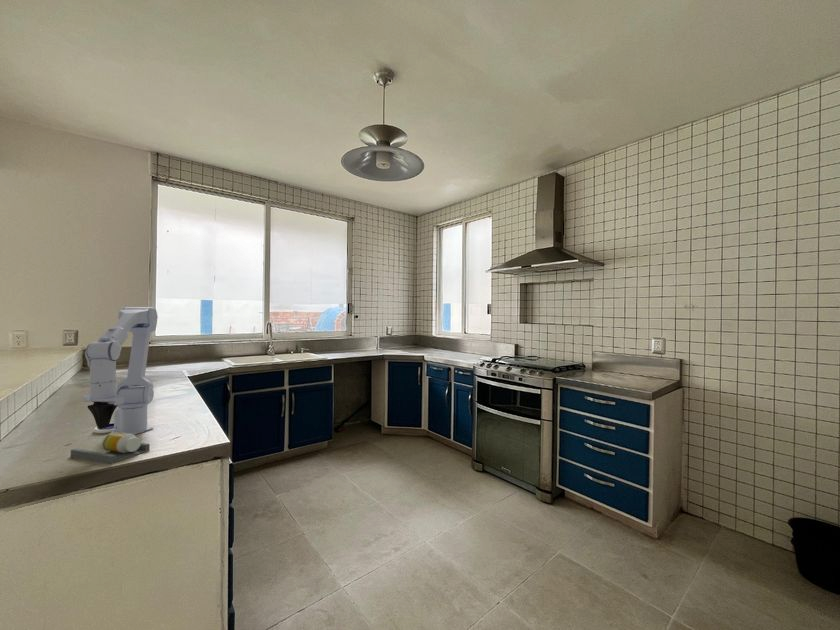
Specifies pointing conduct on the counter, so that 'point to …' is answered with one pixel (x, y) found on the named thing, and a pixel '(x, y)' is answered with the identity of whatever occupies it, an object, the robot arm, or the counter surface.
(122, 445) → the supplement bottle
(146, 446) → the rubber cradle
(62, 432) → the counter surface
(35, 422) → the counter surface
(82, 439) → the counter surface
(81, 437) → the counter surface
